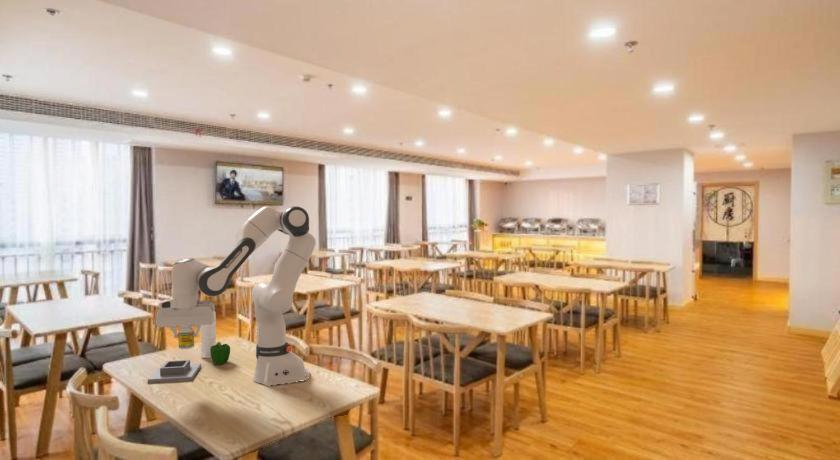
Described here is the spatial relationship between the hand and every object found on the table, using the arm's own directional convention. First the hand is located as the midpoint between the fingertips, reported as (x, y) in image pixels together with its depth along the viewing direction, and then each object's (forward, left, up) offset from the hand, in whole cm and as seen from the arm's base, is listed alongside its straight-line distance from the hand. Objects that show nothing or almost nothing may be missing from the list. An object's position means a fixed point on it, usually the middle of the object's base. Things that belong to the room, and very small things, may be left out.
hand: (186, 336), depth 179 cm
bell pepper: (-7, -28, -20) cm, 35 cm away
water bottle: (+1, -38, -20) cm, 43 cm away
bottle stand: (+8, -16, -20) cm, 27 cm away
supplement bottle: (0, 0, -4) cm, 4 cm away
